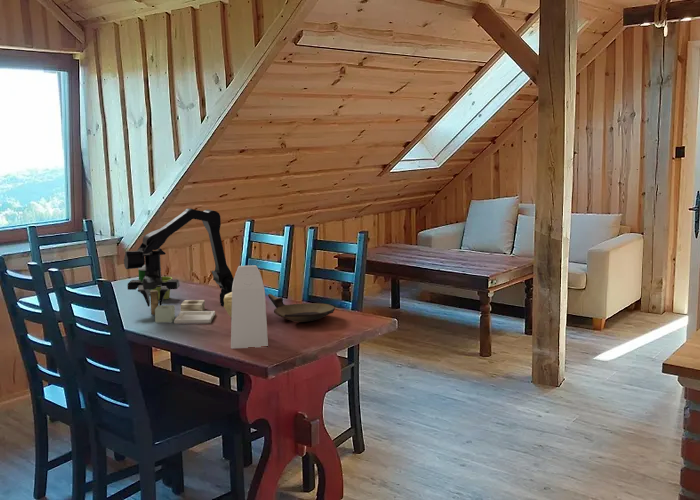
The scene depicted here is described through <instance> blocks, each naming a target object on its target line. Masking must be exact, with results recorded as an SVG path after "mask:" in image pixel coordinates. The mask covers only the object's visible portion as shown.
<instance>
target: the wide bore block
mask: <svg viewBox="0 0 700 500" xmlns="http://www.w3.org/2000/svg"><path fill="white" fill-rule="evenodd" d="M205 302H206V300H205V299H185V300H183V301H182V302H181V304H180V312H181V311H205V309H206V307H205V306H206V303H205Z"/></svg>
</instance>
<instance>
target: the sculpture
mask: <svg viewBox="0 0 700 500" xmlns="http://www.w3.org/2000/svg"><path fill="white" fill-rule="evenodd" d="M223 308H224V309H225V311H226V313H227V315H228V316H229V317H230V318H231V319H232V292H230V293H228V294H226V295H225V297H224V306H223Z"/></svg>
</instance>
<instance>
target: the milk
mask: <svg viewBox="0 0 700 500" xmlns="http://www.w3.org/2000/svg"><path fill="white" fill-rule="evenodd" d="M233 278H234V281H233V285H232V318H231V321H230V322H231V324H230V325H231V326H230V332H231V333H230V349H233V350H234V349H249V348H248V347H255V348H262V347H261V346H268V347H269V341H268V324H267V323H268V322H267V305H266V290H265V285H264V281H263V276H262V274H261V272H260V270H259V268H258V266H257V265H255V264H254V265H238V267H237V269H236V271H235V275H234V276H233Z"/></svg>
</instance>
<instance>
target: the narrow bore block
mask: <svg viewBox="0 0 700 500" xmlns="http://www.w3.org/2000/svg"><path fill="white" fill-rule="evenodd" d="M175 309H176V308H175V305H174V304H171V305H170V304H169V305H163V304H162V305H160V304H158V306H157V307H156V309H155V315H154V318H155V320H154V321H155V323H172V322H173V321H174V320H175V319H176V315H175V314H176V311H175Z"/></svg>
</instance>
